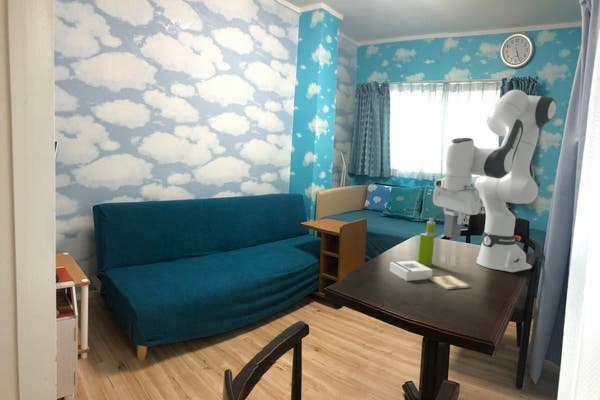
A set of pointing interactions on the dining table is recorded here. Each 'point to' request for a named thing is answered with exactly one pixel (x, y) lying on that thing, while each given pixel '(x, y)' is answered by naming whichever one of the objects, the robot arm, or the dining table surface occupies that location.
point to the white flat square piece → (410, 270)
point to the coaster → (449, 282)
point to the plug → (451, 225)
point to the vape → (427, 244)
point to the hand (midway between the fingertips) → (453, 222)
